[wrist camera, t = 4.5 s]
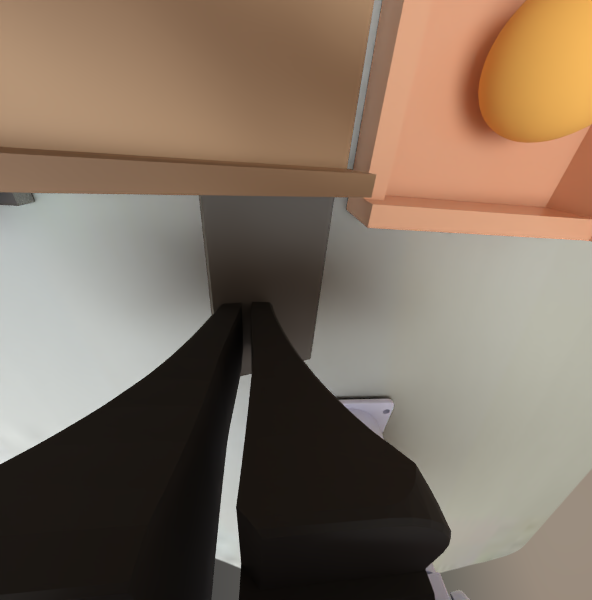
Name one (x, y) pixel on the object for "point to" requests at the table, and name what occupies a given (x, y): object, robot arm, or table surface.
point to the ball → (540, 72)
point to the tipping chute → (197, 126)
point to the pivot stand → (15, 198)
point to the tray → (458, 135)
